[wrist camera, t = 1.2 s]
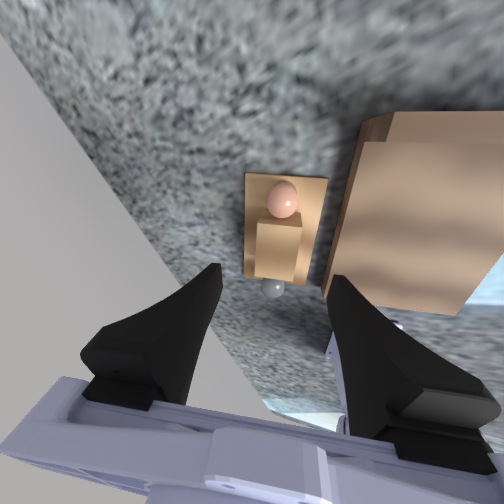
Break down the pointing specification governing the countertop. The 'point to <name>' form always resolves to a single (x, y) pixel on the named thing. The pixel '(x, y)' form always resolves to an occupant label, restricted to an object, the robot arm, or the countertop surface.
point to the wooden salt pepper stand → (280, 228)
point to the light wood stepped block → (422, 209)
